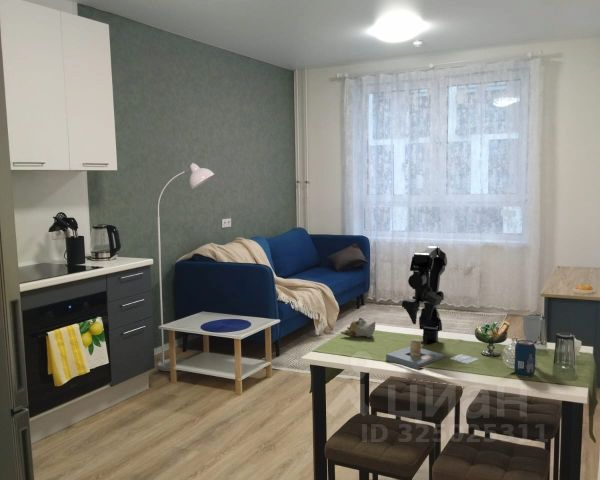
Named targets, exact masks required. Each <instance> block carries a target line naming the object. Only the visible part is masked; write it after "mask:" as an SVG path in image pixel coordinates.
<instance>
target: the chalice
mask: <svg viewBox="0 0 600 480" xmlns="http://www.w3.org/2000/svg"><path fill="white" fill-rule="evenodd" d="M521 318H522V331H523V335H524V337H525V340H529V341H532V342H534V343H535V342H536V341H537V339H538V337H539V336H540V334H541V331H542V321H543V317H541V316H538V315H522V316H521ZM537 364H538V363H537V359H536V358H535V365H537ZM537 366H538V365H537Z"/></svg>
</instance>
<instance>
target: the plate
mask: <svg viewBox="0 0 600 480" xmlns="http://www.w3.org/2000/svg"><path fill="white" fill-rule="evenodd" d="M449 360H452V361H456V362H460V363H463V364H466V365H467V364H469V363H472V362H476V361H477V360H479V358H477V357H473V356H470V355H466V354H464V353H463V354H462V353H460V354H457V355H455V356H452V357H449Z"/></svg>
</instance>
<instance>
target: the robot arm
mask: <svg viewBox="0 0 600 480" xmlns="http://www.w3.org/2000/svg"><path fill="white" fill-rule="evenodd" d="M447 265H448V258H447V254H446V253H445V252H444V251H442V249H441V248H440V246H438V245H437V246H436V245H435V246H433V245H429V246H427V248H425V250H423V251H422V252H415V253H414V254H413V255H412V257H411V263H410V267H409V272H412V274H411V275H410V276H409V278H408V280H407V283H408V285H409V287H410V288H412V290H414V295H413V296H412V299H411V298H408V299H404V300H402V301H401V307H402V308H403V310H406V312H407V315H408V317H409V318H410V320H411V322H412V324H413V325H416V324H417V318H418V312H419V311H420V305H421V304H423V305H424V307H422V308H421V311H420V312H421V313H420V315H419V318H418V324H419V325H418V326H419V330H422V340H420V341H421V344H424V345H426V346H427V345H428V346H429V345H430V346H431V345H433V344H437V343H440V340H439V332H440V331H443V323H442V320H441V317H440V316H441V315H440V313H439V310H438V309H437V307H438V306H439V305H441V303H442V301H444V297H445V295H444V292H443V291H442V290H440V280H441V276H442V274H443V273H444V272H445V271H446V267H447Z"/></svg>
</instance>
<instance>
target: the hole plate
mask: <svg viewBox="0 0 600 480" xmlns="http://www.w3.org/2000/svg"><path fill="white" fill-rule="evenodd" d="M445 356H446V355H445V354H443V353H439V352H437V351H432V350H430V349H429V350H428V349H425V348H422V347H421V357H418V358H415V357H412V356H410V346H407V347H403V348H401V349H398V350H397V349H396V350H395V351H391V352H389V353H386V354H385V361H386V362H390V363H394V364H397V365H400V366H404V367H406V368H409V369H413V370H415V371H419V372H420V371H421V370H423V369H424V370H425V367H424V368H423V367H422V366H425V365H428V364H431V363H433V362H436V361H439V360H441V359H444V358H446V357H445Z"/></svg>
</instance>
